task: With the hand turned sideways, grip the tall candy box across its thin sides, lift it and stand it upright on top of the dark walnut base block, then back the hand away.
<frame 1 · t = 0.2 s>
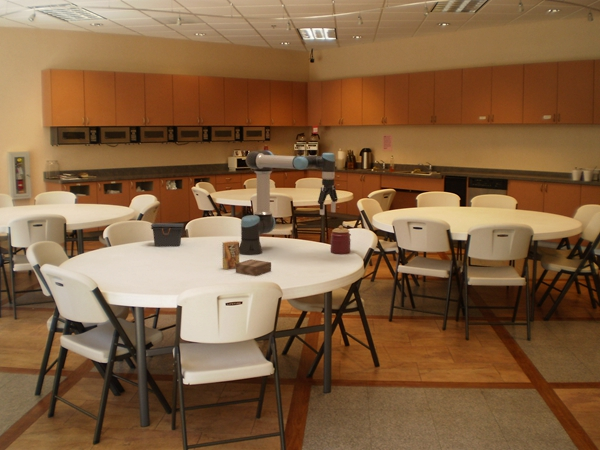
hand: (327, 213, 383), 28 cm above the table, tool pointing down, fingers open, 13 cm apart
walnut base: (253, 271, 350), on the table
storage bin: (167, 246, 424), on the table
candy box: (231, 268, 358), on the table
canister: (340, 252, 406), on the table
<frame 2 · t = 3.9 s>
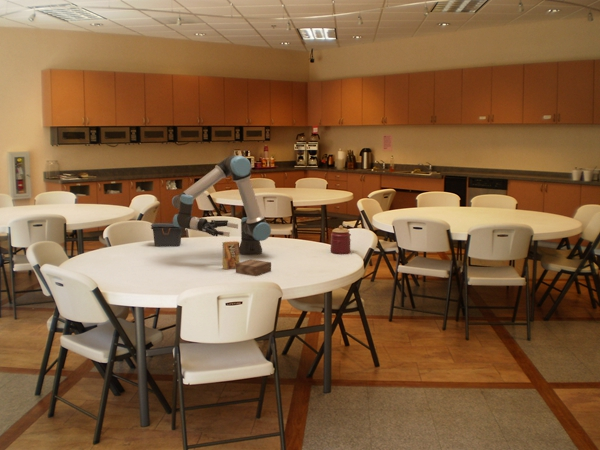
hand: (233, 230, 359), 21 cm above the table, tool horizontal, fingers open, 13 cm apart
nothing on the table moved.
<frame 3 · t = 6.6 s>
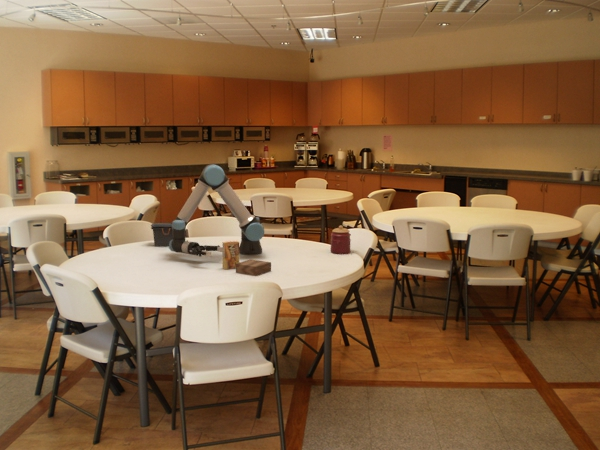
hand: (218, 252, 362), 8 cm above the table, tool horizontal, fingers open, 13 cm apart
nothing on the table moved.
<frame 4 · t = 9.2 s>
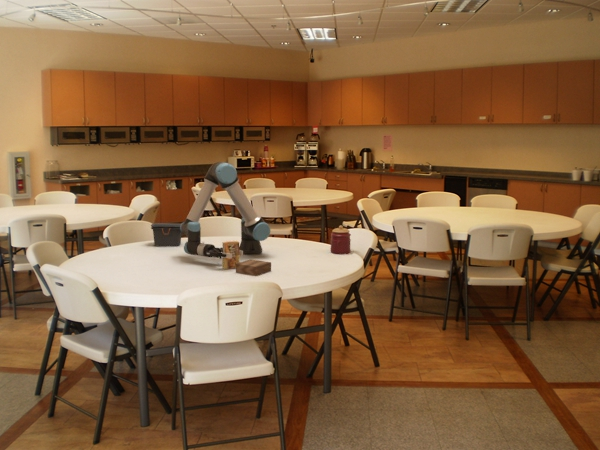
hand: (237, 254, 354), 8 cm above the table, tool horizontal, fingers closed on candy box, 9 cm apart
candy box: (231, 268, 358), on the table, touching gripper
everything else where it was.
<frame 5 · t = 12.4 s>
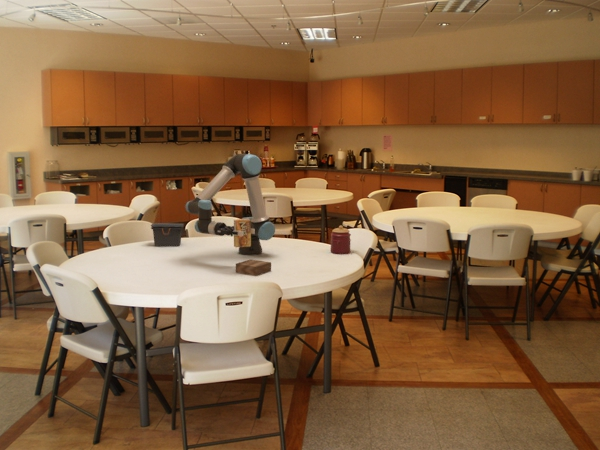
hand: (248, 232, 347), 22 cm above the table, tool horizontal, fingers closed on candy box, 9 cm apart
candy box: (242, 246, 351), point 13 cm above the table, touching gripper
everything else where it was.
when the fingers open (14 cm above the table, at t = 15.4 s): candy box moves 1 cm, resting on walnut base.
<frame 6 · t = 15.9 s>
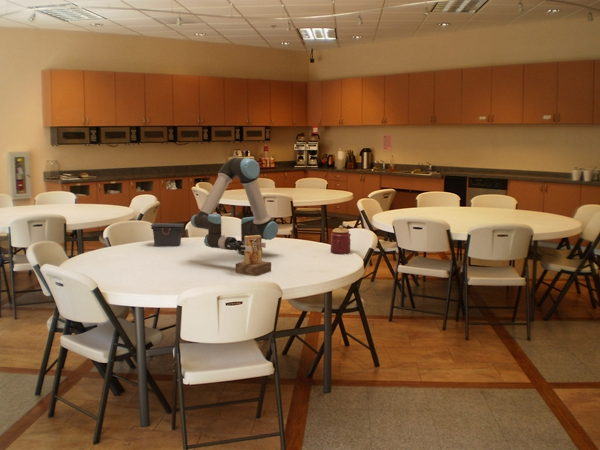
hand: (258, 247, 346), 14 cm above the table, tool horizontal, fingers open, 13 cm apart
candy box: (252, 263, 349), point 5 cm above the table, touching walnut base
everything else where it was.
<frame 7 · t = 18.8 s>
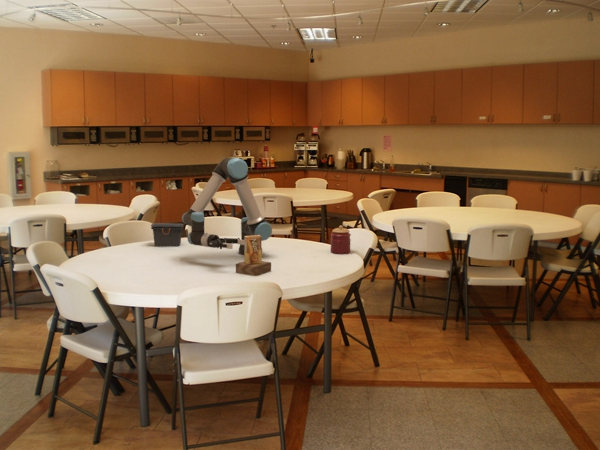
hand: (239, 244, 353), 14 cm above the table, tool horizontal, fingers open, 13 cm apart
nothing on the table moved.
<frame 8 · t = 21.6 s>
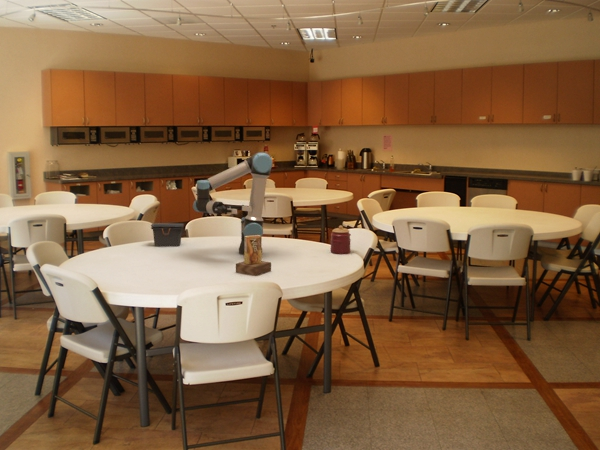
hand: (244, 210, 363), 32 cm above the table, tool horizontal, fingers open, 13 cm apart
nothing on the table moved.
at the end: candy box inside the target area on the walnut base (0.4 cm from its centre), point 4.8 cm above the walnut base's base; candy box tilted 0°; the gripper is holding nothing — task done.
